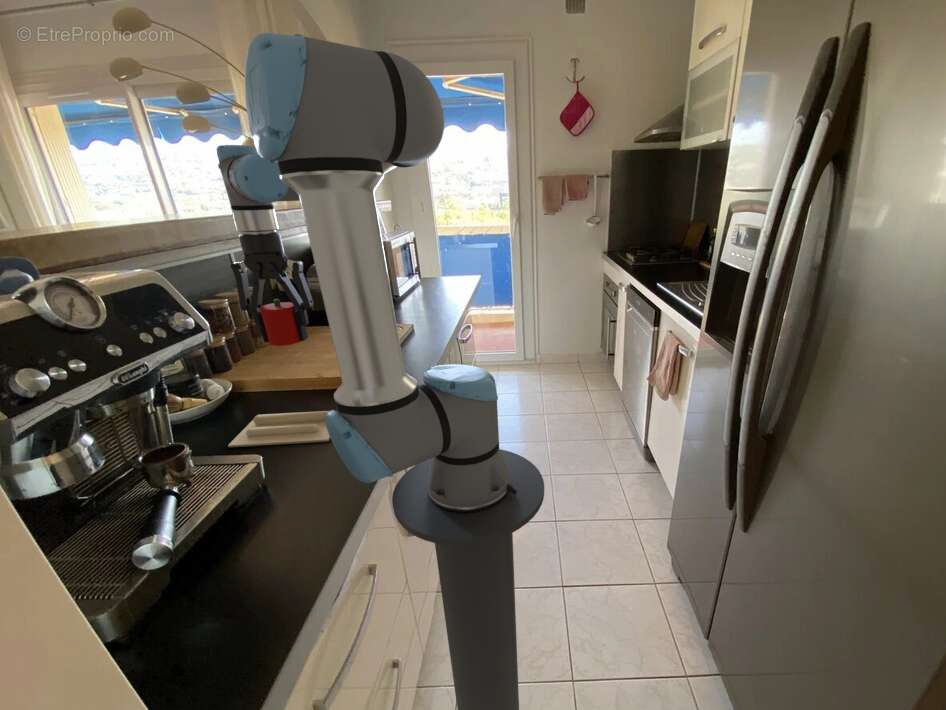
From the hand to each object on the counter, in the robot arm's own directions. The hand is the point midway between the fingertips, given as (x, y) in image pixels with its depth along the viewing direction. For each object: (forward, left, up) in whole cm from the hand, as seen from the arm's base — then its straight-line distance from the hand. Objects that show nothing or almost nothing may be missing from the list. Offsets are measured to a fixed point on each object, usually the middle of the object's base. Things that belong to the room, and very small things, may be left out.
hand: (286, 339), depth 101 cm
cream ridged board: (-1, +10, -17) cm, 20 cm away
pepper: (0, 0, 0) cm, 0 cm away
